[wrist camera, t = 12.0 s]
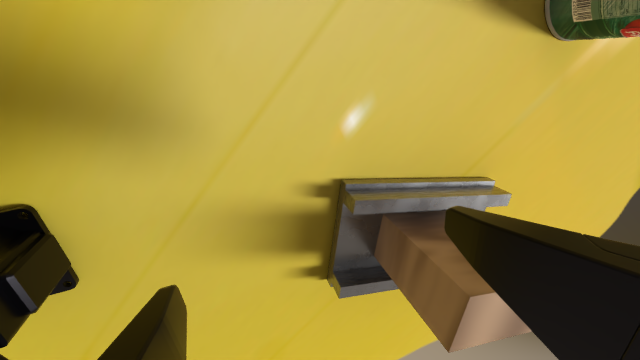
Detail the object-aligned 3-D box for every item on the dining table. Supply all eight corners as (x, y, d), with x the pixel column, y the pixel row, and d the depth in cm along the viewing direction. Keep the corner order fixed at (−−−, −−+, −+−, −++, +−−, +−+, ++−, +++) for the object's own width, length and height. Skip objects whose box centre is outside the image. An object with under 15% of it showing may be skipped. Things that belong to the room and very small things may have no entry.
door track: (327, 279, 27) (338, 302, 25) (341, 179, 23) (356, 194, 21) (458, 261, 32) (478, 279, 30) (487, 177, 29) (513, 189, 26)
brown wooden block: (373, 256, 27) (448, 352, 18) (383, 213, 25) (470, 297, 16) (442, 248, 29) (537, 330, 20) (454, 209, 27) (563, 280, 19)
